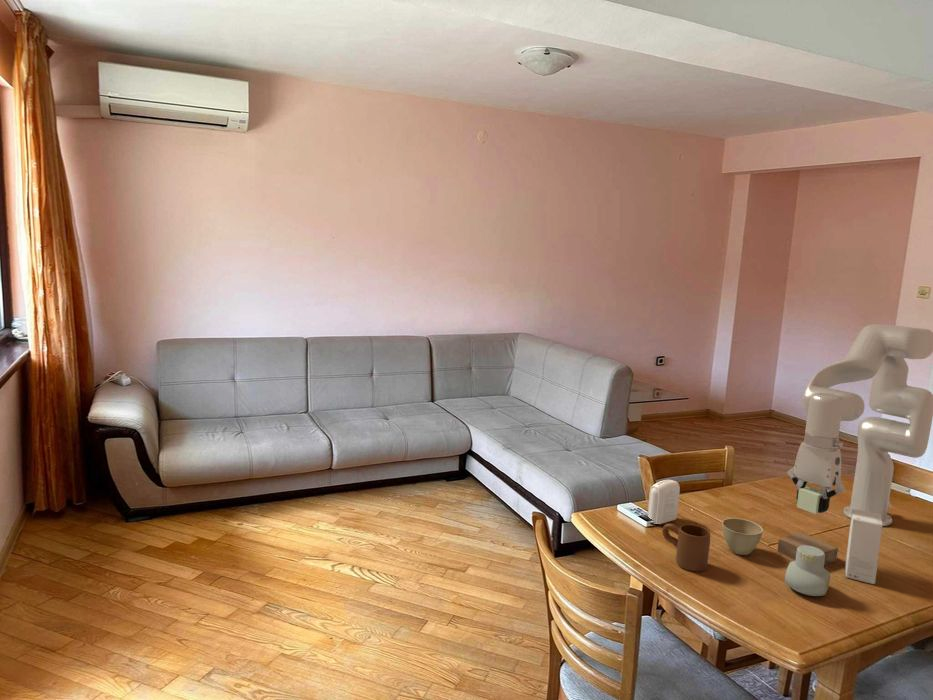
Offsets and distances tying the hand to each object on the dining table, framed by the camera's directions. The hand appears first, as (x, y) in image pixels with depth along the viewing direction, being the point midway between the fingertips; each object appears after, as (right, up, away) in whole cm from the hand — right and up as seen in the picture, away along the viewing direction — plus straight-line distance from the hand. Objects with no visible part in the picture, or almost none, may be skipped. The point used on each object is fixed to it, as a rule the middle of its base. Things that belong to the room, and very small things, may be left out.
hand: (811, 506), depth 163 cm
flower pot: (-17, -13, +3) cm, 22 cm away
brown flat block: (0, -14, +2) cm, 14 cm away
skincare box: (+8, -15, -7) cm, 19 cm away
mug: (-35, -13, -4) cm, 38 cm away
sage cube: (0, -1, 0) cm, 1 cm away
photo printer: (-33, -10, +21) cm, 40 cm away
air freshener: (-10, -16, -15) cm, 24 cm away
